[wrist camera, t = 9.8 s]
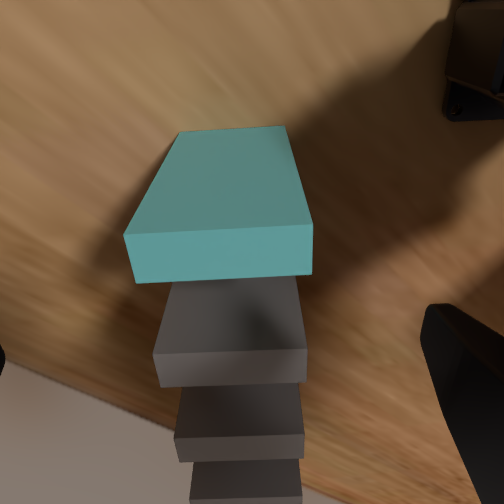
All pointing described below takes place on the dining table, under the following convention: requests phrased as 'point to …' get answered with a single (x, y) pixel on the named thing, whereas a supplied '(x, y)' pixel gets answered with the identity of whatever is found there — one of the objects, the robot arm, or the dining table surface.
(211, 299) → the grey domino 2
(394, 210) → the dining table surface
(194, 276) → the teal domino
